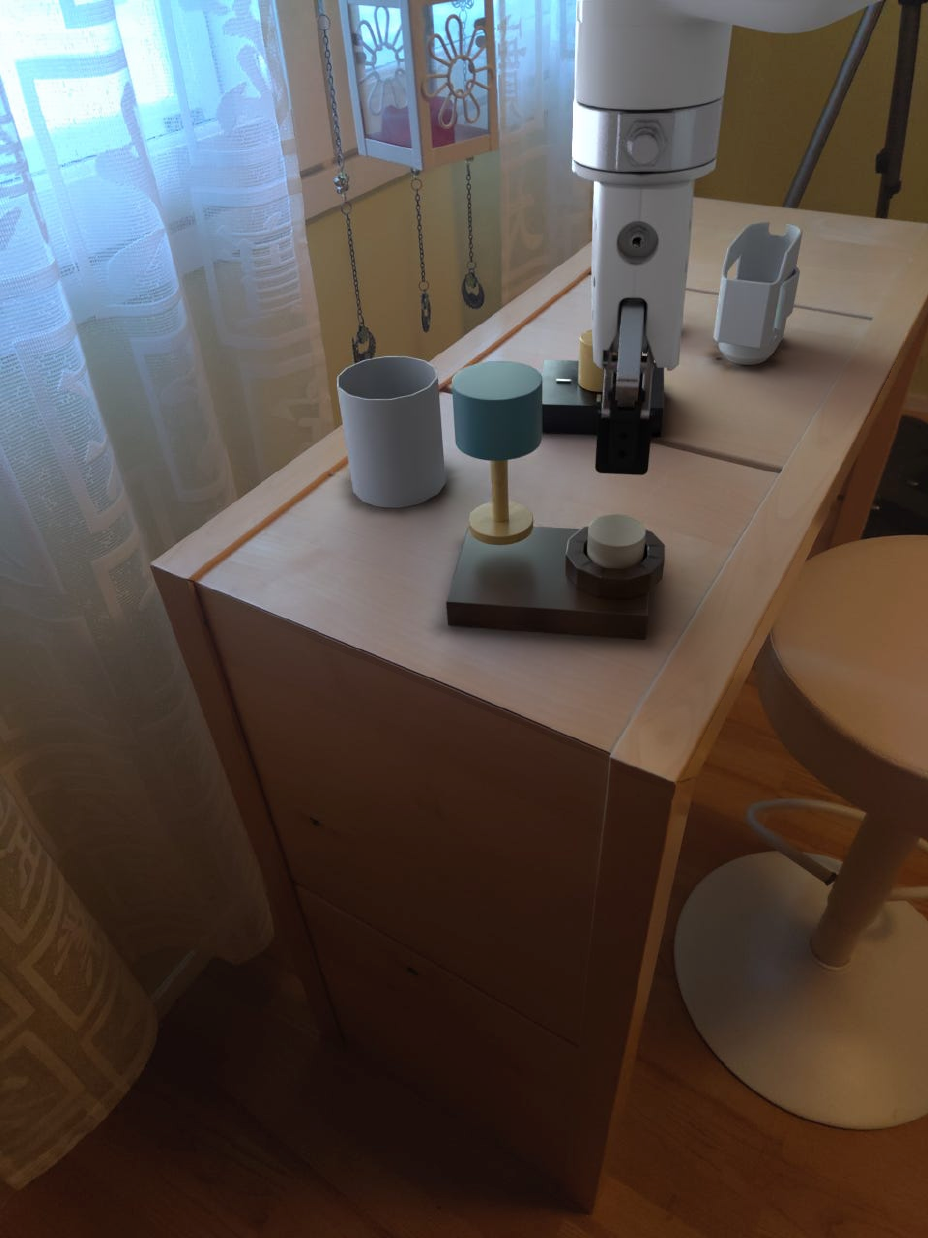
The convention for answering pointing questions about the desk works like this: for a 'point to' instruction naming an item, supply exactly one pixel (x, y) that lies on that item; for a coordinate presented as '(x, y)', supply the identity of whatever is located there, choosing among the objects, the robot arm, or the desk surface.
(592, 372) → the dimmer knob
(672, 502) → the desk surface
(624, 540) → the switch
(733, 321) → the cable organizer
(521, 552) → the lamp base
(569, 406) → the dimmer
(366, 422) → the cup
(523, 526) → the lamp
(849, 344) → the desk surface
